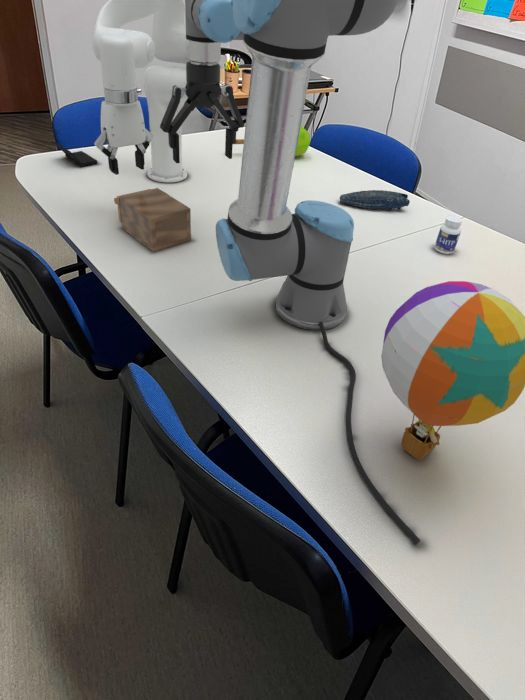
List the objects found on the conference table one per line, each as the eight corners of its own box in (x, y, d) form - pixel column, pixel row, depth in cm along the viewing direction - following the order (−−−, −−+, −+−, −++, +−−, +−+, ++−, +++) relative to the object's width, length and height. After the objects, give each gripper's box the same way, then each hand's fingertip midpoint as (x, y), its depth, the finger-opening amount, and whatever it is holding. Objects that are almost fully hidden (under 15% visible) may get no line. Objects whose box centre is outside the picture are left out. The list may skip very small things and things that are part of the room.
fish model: (408, 214, 157) (412, 198, 153) (339, 207, 158) (341, 191, 154) (406, 206, 162) (410, 190, 159) (339, 199, 163) (341, 183, 160)
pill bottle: (433, 251, 139) (442, 220, 133) (435, 243, 143) (444, 213, 137) (453, 256, 138) (464, 225, 132) (454, 247, 142) (465, 217, 136)
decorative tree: (225, 119, 187) (305, 119, 192) (225, 149, 194) (302, 148, 199) (232, 134, 173) (318, 133, 179) (232, 165, 180) (315, 164, 185)
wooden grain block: (122, 228, 136) (119, 196, 131) (159, 219, 142) (157, 187, 137) (153, 252, 128) (150, 218, 122) (190, 240, 134) (190, 208, 128)
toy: (330, 441, 84) (367, 281, 65) (404, 391, 94) (454, 241, 75) (431, 526, 73) (512, 363, 54) (502, 459, 83) (589, 303, 64)
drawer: (109, 213, 140) (106, 189, 136) (141, 205, 146) (140, 182, 142) (146, 241, 130) (144, 215, 125) (179, 231, 135) (179, 207, 131)
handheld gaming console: (102, 156, 171) (80, 134, 163) (90, 174, 170) (68, 153, 161) (81, 152, 177) (60, 131, 169) (70, 169, 176) (48, 148, 168)
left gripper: (144, 88, 130) (149, 160, 141) (79, 95, 120) (89, 171, 132) (161, 95, 126) (164, 169, 137) (94, 103, 116) (103, 181, 127)
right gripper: (247, 57, 121) (243, 150, 134) (142, 58, 112) (148, 158, 125) (261, 64, 116) (255, 160, 129) (152, 66, 107) (158, 169, 120)
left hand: (127, 169), depth 134 cm, fingers open, 6 cm apart
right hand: (202, 159), depth 127 cm, fingers open, 13 cm apart
